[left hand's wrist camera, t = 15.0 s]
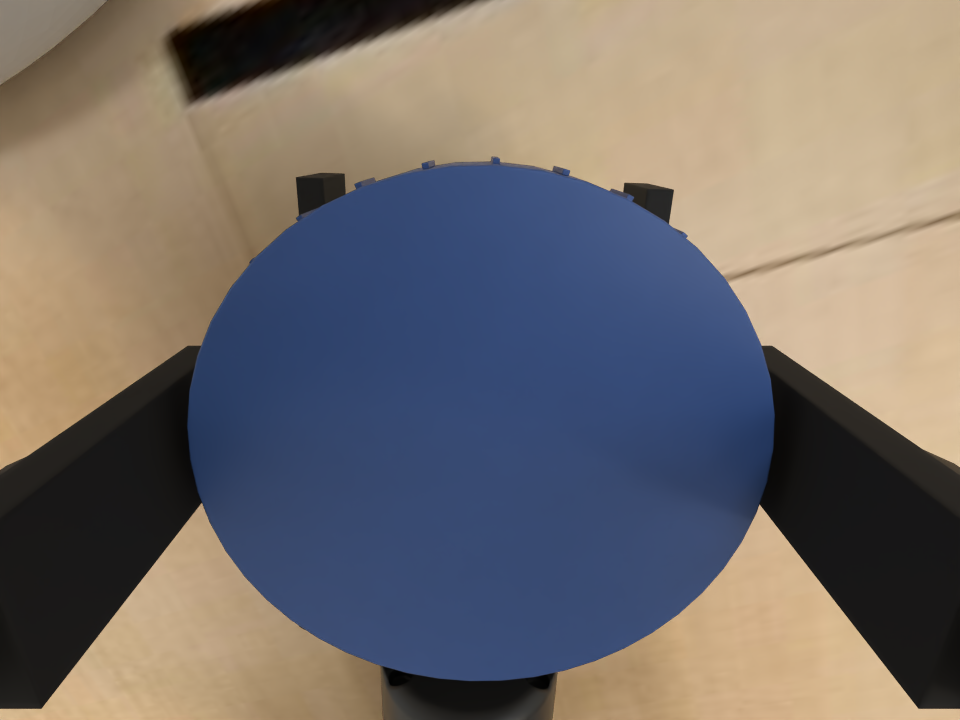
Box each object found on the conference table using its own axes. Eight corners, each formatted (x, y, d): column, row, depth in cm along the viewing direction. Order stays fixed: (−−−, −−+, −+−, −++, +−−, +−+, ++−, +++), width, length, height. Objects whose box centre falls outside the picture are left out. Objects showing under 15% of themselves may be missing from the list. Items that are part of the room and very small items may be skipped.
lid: (116, 322, 11) (50, 354, 9) (618, 39, 9) (649, 14, 8) (391, 673, 14) (380, 743, 13) (798, 513, 13) (847, 570, 11)
